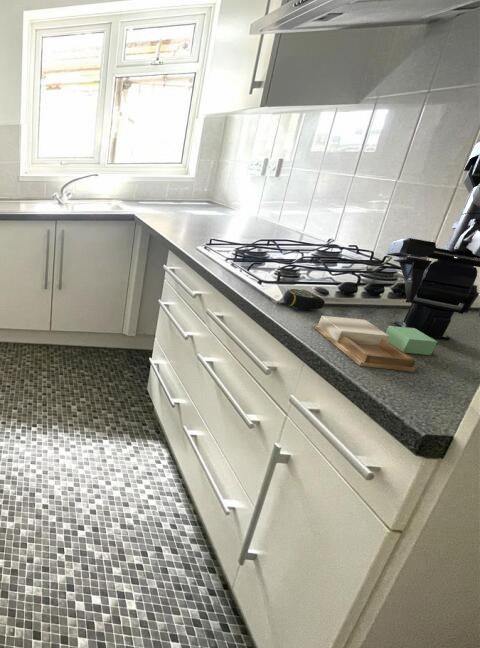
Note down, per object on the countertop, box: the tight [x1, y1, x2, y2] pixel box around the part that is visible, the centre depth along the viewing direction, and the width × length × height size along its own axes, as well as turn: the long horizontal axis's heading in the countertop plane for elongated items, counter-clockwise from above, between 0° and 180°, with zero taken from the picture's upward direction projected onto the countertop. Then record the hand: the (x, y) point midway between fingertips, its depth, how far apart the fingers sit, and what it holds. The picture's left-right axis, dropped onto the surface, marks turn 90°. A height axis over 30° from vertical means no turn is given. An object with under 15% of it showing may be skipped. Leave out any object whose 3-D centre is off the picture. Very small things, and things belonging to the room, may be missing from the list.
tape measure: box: [282, 288, 326, 311], centre depth 101 cm, size 7×7×4 cm
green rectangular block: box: [385, 325, 438, 356], centre depth 83 cm, size 6×4×3 cm
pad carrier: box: [315, 315, 417, 373], centre depth 82 cm, size 16×8×3 cm, turn 166°
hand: (444, 308), depth 71 cm, fingers open, 9 cm apart
